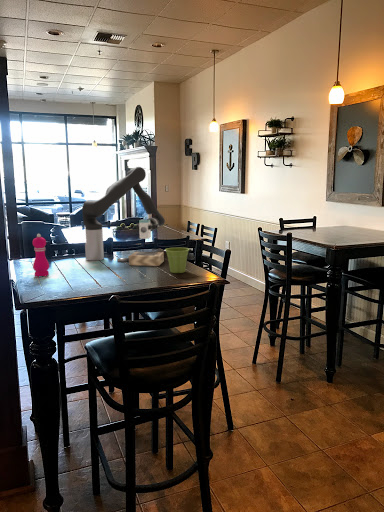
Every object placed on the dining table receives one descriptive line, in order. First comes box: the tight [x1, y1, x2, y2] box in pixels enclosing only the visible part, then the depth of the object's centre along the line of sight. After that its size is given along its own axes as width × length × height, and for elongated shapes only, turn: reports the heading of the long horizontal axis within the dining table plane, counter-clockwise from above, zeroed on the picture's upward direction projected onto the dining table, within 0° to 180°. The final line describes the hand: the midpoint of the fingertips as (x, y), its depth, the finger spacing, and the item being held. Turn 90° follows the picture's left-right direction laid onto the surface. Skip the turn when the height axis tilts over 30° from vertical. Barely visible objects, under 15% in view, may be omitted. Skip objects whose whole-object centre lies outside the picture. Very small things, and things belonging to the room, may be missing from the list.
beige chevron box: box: [128, 251, 165, 267], centre depth 224 cm, size 16×13×5 cm
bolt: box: [117, 255, 130, 263], centre depth 228 cm, size 8×3×3 cm, turn 103°
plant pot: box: [164, 247, 190, 274], centre depth 201 cm, size 12×12×11 cm
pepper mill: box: [32, 233, 50, 278], centre depth 195 cm, size 7×7×20 cm
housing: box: [138, 219, 152, 240], centre depth 234 cm, size 5×7×10 cm
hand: (143, 227), depth 232 cm, fingers closed on housing, 5 cm apart
